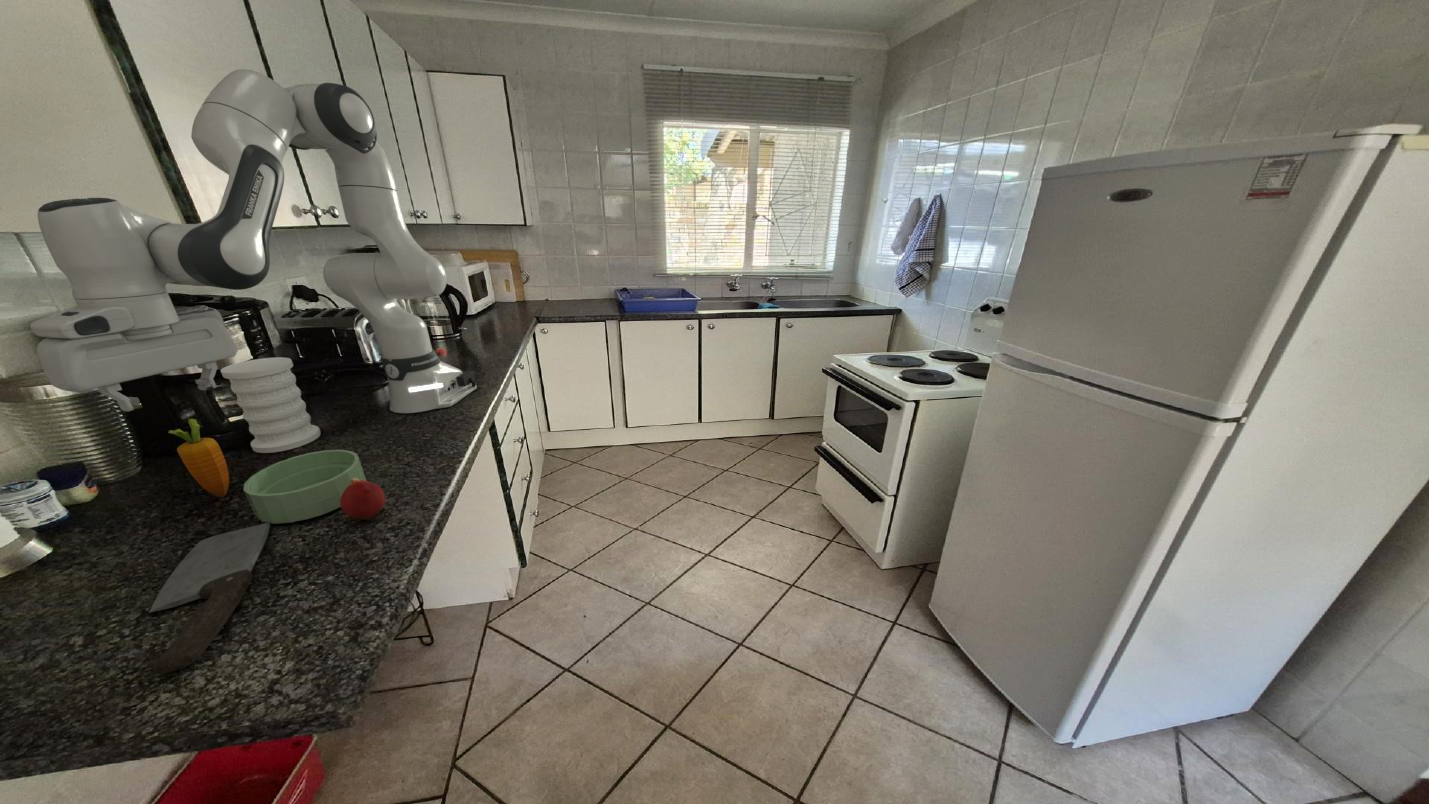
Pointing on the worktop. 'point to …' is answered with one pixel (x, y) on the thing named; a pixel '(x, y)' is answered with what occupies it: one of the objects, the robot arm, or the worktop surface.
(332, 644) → the worktop surface
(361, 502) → the onion
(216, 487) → the carrot
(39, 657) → the worktop surface
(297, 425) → the decorative container
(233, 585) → the cleaver
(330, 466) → the bowl
